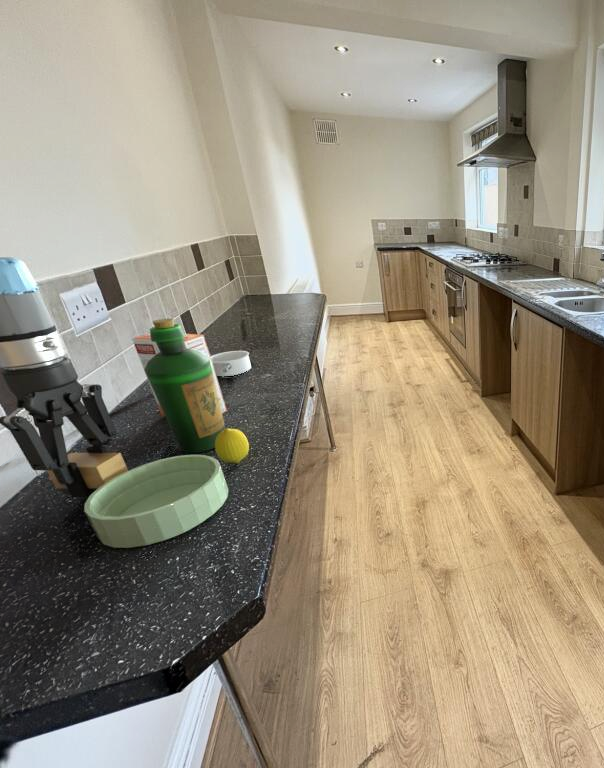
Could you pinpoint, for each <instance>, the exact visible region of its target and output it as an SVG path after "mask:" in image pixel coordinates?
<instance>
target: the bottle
mask: <svg viewBox="0 0 604 768" xmlns="http://www.w3.org/2000/svg"><path fill="white" fill-rule="evenodd" d="M151 323H152V325H153V327H150V328H149V333H150V335H151V341H152V342H156V344H157V346H158V348H159V350H160V352H159V353H158V354H156V355H155V356H154V357H153V358H152V359H150V360H149V361H148V363H147V365H146V367H145V369H144V368H143V371H144V374H145V373H146V374H145V375H147V376H146V378H147V377H148V379H147V381H148V380H149V382H150V384H151V386H152V388H153V390H154V393H155V395H156V397H157V399H158V401H159V403H160V406H161V408H162V410H163V412H164V414H165V417H164V418H166V421H167V423H168V425H169V427H170V430H171V431H172V434H173V436H174V438H175V441H176V443H177V444H178V447H179V449H180V450H181V451H182V453H190V454H196V453H197V454H198V453H204V452H208V451H210V450H213V449H215V440H216V437H217V436H218V434H219V433H221V432H222V431H224V430H225V429H226V424H225V420H224V415H223V414H222V411H221V407H220V403H219V398H218V394H217V390H216V385H215V381H214V377H213V372H212V368H211V364H210V360H209V359H208V358H207V357H205V356H204V355H203V354H201V353H200V352H198V351H195V350H192V349H189V348H185V345H184V340H183V338H184V337H185V336H186V335H185V334H186V333H185V332H184V330H183V328H182V327H181V325H180V324H177V323H175V322H174V318H160V319H155V320H152V322H151ZM149 382H148V383H149ZM150 384H149V385H150Z"/></svg>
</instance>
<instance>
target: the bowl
mask: <svg viewBox="0 0 604 768" xmlns="http://www.w3.org/2000/svg"><path fill="white" fill-rule="evenodd" d="M228 497H229V487H228V484H227V481H226V478H225V475H224V472H223V469H222V466H221V464H220V462H219V460H218V459H216V458H215V457H213V456H209V455H205V454H185V455H175V456H171V457H166V458H162V459H157V460H154V461H151V462H148V463H145V464H142V465H139V466H136V467H135V468H131V469H130V470H129V469H128V471H127V472H125V473H123V474H121V475H119V476H117V477H115V478H113V479H111V480H110V481H108V482H106V483H105V484H103V485H102V486H100V487H99V488H98V489H97V490H96V491H94V492H93V493H92V494H91V495H90V496H89V497H87V499H86V501H85V502H84V510H83V512H84V514H85V516H86V518H87V519H88V521H89V523H90V525H91V528H92V529H93V531H94V533H95V535H96V537H97V539H98V540H99V541H100V542H101V543H102V544H103V546H107V547H110V548H116V549H117V548H118V549H130V548H136V547H137V548H138V547H144V546H148V545H152V544H156V543H160V542H163V541H166V540H167V541H168V540H170V539H172V538H175V537H178V536H179V535H181V534H184V533H186V532H188V531H190V530H192V529H193V528H195V527H197V526H199V525H200V524H202V523H203V522H204V521H206V520H207V519H209V518H210V517H212V516H213V515H214V514H215V513H216V512H217V511H218V510H219V509H221V508H222V507H223V505H224V503H225V502H226V500H227V499H228Z"/></svg>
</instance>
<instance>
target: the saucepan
mask: <svg viewBox="0 0 604 768" xmlns="http://www.w3.org/2000/svg"><path fill="white" fill-rule="evenodd" d="M249 355H250V352H249V351H247V350H232V351H231V350H230V351H224V352H219V353H215V354H213V355H210V357H211V360H212V364H213V367H214V370H215V373H216V376H217V377H218V376H222V377H221V378H225V377H224V376H234V375H238V374H241V373H244V372H246V371H247V372H248V371H249V370H251V369H252V365H251V360H250V356H249ZM247 372H246V373H247ZM244 374H245V373H244ZM238 376H239V375H238ZM234 377H235V376H234Z"/></svg>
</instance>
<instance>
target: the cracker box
mask: <svg viewBox="0 0 604 768" xmlns="http://www.w3.org/2000/svg"><path fill="white" fill-rule="evenodd" d="M185 335H186V336H185V337H184V338H183V340H184V345H185V348H189V349H192V350H195V351H198V352H200V353H201V354H203V355H204V356H205V357H207V358H208V359H209V360H210V364H211V368H212V372H213V377H214V381H215V385H216V390H217V394H218V398H219V403H220V407H221V411H222V415H223V414H225V413H227V412H228V408H227V405H226V403H225V399H224V396H223V393H222V390H221V387H220V383H219V380H218V376H216V373H215V370H214V367H213V364H212V360H211V357H210V356H211V354H210V351H209V348H208V344H207V341H206V338H205V335H204V334H197V333H196V334H195V333H185ZM131 340H132V343H133V345H134V348H135V350H136V353H137V356H138V358H139V360H140V363H141V365H142V368H143V370H144V369H145V367H146V365H147V363H148V361H149V360H150V359H152V358H153V357H154V356H155V355H156V354H158V353H159V352H160V350H159V348H158V346H157V344H156V342H152V341H151V335H150V332H149V333H146V334H141V335H138V336H135V337H133V338H132V339H131ZM144 374H145V375H146V373H145V372H144ZM146 379H147V381H148V384H149V387H150V389H151V392H152V394H153V397H154V400H155V402H156V405H157V408H158V410H159V413H160V415H161V417H162V418H166V417H165V414H164V412H163V410H162V408H161V406H160V403H159V401H158V399H157V397H156V395H155V393H154V390H153V388H152V386H151V384H150V382H149V380H148V377H147V375H146Z"/></svg>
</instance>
